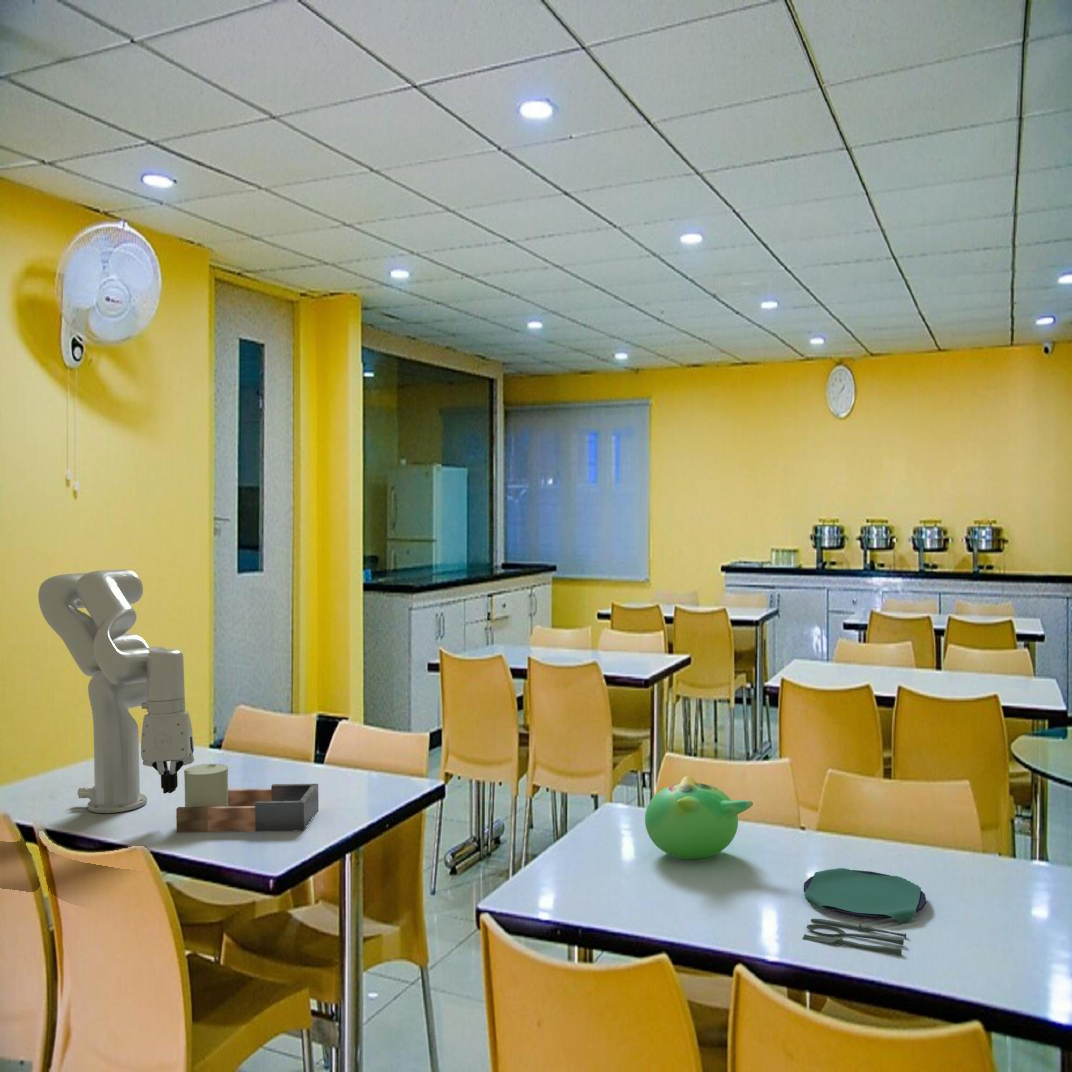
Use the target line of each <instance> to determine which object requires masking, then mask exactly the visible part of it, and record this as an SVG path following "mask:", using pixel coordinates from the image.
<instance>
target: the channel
mask: <svg viewBox="0 0 1072 1072" xmlns="http://www.w3.org/2000/svg"><path fill="white" fill-rule="evenodd" d="M257 801H272V794H271V788H228V806H222V807H185V806H178V807H177V808H176V809H175V812H176V814H175V815H176V816H175V817H176V818H175V819H176V833H227V832H228V831H232V832H233V831H245V832H257V831H256V830H255V803H256V802H257ZM208 831H209V832H208ZM213 831H214V832H213ZM218 831H219V832H218ZM221 831H222V832H221ZM223 831H224V832H223ZM226 831H227V832H226ZM232 832H231V833H232ZM228 833H229V832H228ZM233 833H234V832H233Z"/></svg>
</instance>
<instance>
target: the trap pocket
mask: <svg viewBox="0 0 1072 1072" xmlns="http://www.w3.org/2000/svg"><path fill="white" fill-rule="evenodd" d="M270 789H271V794H272V801H257V802H256V803H255V830H256V831H255V832H295V831H294V830H304V831H305V830H306V829H307V827H308V826H309V825H310V823H311V822H312V820H313V819H312V817H313V816H314V815H315V814H316V815H317V813H318V812H317V810H318V809H319V783H273V784H272V785H271V788H270ZM319 810H320V809H319ZM319 810H318V811H319ZM316 812H317V813H316ZM316 815H315V816H316ZM315 816H314V817H315ZM314 817H313V818H314ZM311 819H312V820H311ZM310 821H311V822H310ZM309 822H310V823H309ZM308 824H309V825H308ZM307 825H308V826H307ZM306 826H307V827H306ZM305 828H306V829H305Z"/></svg>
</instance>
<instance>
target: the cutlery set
mask: <svg viewBox="0 0 1072 1072" xmlns="http://www.w3.org/2000/svg"><path fill="white" fill-rule="evenodd" d="M921 889H922V887H920V886H919V885H918V884H915V883H914V882H911V880H908V879H906V878H904V877H902V876H899V875H890V874H885V873H881V872H876V871H869V870H858V869H857V870H856V869H849V868H846V867H845V868H844V867H839V868H830V869H824V870H820V871H815V872H814V874H813V876H810V877H809V878H808V879H807V880H806V881H804V883H803V893H804V899H805V900H806V901H807V902H808V903H810V904H811V905H812V906H814V907H815V908H817V909H818V910H820V909H821V908H824V909H826V910H829V911H831V912H835V913H837V914H840V915H845V916H850V917H854V918H862V919H871V920H879V919H894V920H895V921H897V923H899V925H900V926H901V925H906V924H909V922H911V921H912V920H913V919H914V917H915V915H916V913H918V912H919V911H922V910H923V908H924V907H925V905H926V904H927V898H926V894H925V892H924V891H922V890H921ZM810 922H811V923H812V922H813V924H807V925H806V926H805V927H806V929H808V930H809V931H811V932H813V933H815V934H816V935H817V936H816V935H809V934H805V933H804V934H803V937H801V938H802V940H805V941H810V942H815V943H819V944H823V945H828V946H832V947H833V946H834V947H835V946H836V945H837V946H842V945H843V946H849V947H853V948H856V949H860V950H861V949H862V950H866V951H871V952H876V953H877V952H879V953H885V954H892V955H895V956H902V954H903V953H902V952H903V949H902V948H900V947H893V946H883V945H872V944H871V945H870V944H865V943H858V942H854V941H852V940H851V941H850V940H846V939H845V940H844V939H843V937H854V938H859V939H869V940H877V941H880V942H881V941H882V942H887V943H891V944H892V943H893V944H896V945H901V946H904V943H905V942H904V941H905V940H904V939H906V940H907V932H906V933H904V932H903V933H902V932H901V933H900V932H894V931H889V930H885V929H880V928H875V927H872V926H870V925H868V924H867V925H863V924H861V923H859V925H856V924H851V923H848V922H841V921H835V920H830V919H823V918H810ZM836 926H837V927H836ZM839 927H840V928H839ZM841 927H842V928H848V929H854V930H858V932H862V931H864V932H866V933H870V932H871V933H872V932H876V933H877V932H878V933H882V934H889V935H894V936H898V937H894V936H893V937H891V936H885V935H876V934H861V933H851V932H850V933H849V932H848V933H846V931H845V930H843V929H841ZM819 929H822V930H824V929H825V930H830V931H833V932H835V933H836V934H833V933H823V932H819V931H815V930H819ZM819 935H820V936H819ZM840 936H841V937H840ZM842 936H843V937H842ZM901 937H903V938H901Z"/></svg>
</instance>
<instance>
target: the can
mask: <svg viewBox="0 0 1072 1072" xmlns="http://www.w3.org/2000/svg"><path fill="white" fill-rule="evenodd" d="M183 775H184V807H222V806H228V789H229V780H228V778H229V767H228V765H227V764H222V763H205V764H198V765H193V766H189V767H187V768H185V769H184V770H183Z"/></svg>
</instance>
